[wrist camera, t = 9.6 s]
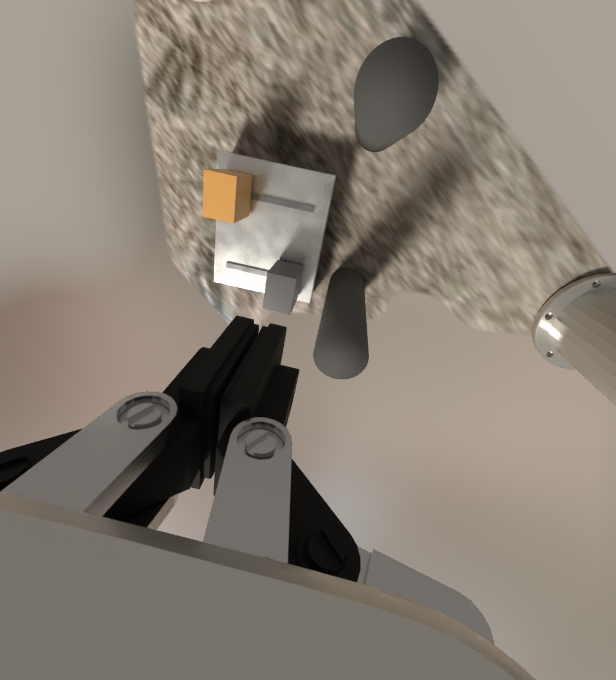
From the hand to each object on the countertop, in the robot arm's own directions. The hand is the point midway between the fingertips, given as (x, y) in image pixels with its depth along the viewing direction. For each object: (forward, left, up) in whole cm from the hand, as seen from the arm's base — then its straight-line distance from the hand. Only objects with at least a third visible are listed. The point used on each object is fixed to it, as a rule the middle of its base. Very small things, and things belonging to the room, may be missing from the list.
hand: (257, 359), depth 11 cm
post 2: (-3, -10, -31) cm, 33 cm away
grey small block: (+3, +6, -27) cm, 28 cm away
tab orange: (+10, -2, -27) cm, 29 cm away
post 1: (-4, +7, -31) cm, 32 cm away
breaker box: (+6, +2, -31) cm, 32 cm away
